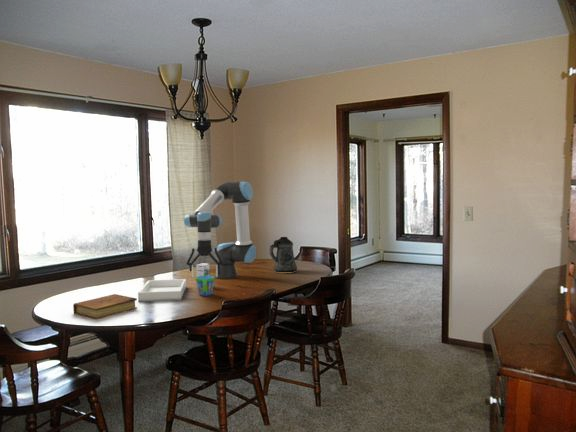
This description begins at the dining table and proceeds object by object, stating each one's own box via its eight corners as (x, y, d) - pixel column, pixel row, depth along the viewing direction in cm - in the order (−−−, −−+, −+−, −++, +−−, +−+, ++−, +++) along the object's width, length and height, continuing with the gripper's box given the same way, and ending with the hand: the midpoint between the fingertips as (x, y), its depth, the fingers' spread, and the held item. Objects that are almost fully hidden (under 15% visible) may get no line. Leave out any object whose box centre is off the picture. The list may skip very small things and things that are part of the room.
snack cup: (198, 291, 269) (198, 274, 268) (216, 291, 269) (216, 274, 268) (193, 298, 253) (193, 280, 252) (212, 298, 253) (212, 279, 253)
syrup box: (204, 288, 277) (203, 264, 276) (196, 287, 280) (196, 264, 279) (210, 286, 281) (209, 263, 280) (203, 285, 285) (202, 262, 284)
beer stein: (301, 271, 331) (301, 236, 329) (285, 275, 315) (285, 239, 313) (282, 268, 340) (282, 235, 338) (266, 273, 324) (266, 238, 323)
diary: (114, 304, 244) (114, 293, 243) (137, 309, 233) (136, 298, 233) (73, 314, 225) (73, 302, 224) (96, 320, 214) (96, 308, 214)
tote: (185, 287, 281) (185, 279, 281) (180, 300, 249) (180, 291, 249) (148, 288, 278) (148, 280, 278) (138, 301, 246) (138, 292, 246)
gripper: (181, 240, 254) (181, 278, 255) (226, 239, 257) (227, 277, 258) (182, 239, 261) (183, 276, 262) (226, 238, 264) (226, 274, 265)
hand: (204, 276), depth 260 cm, fingers open, 13 cm apart
